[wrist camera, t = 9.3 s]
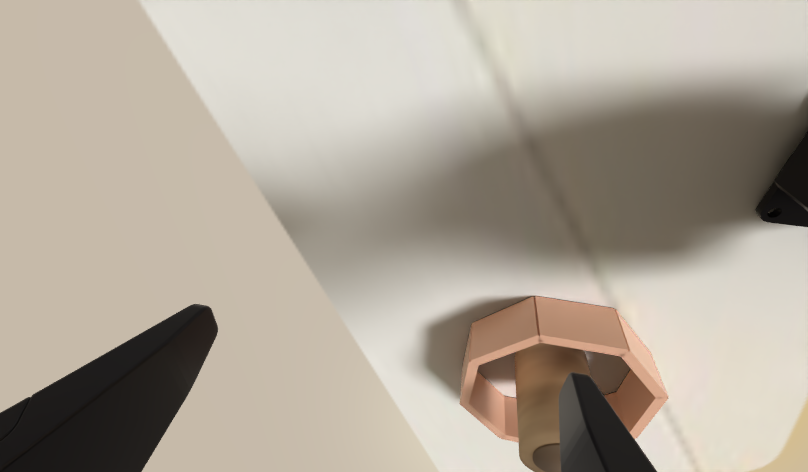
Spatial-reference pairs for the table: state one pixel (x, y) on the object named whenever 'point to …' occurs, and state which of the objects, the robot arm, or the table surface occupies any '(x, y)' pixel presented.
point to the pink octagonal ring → (566, 329)
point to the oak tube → (543, 401)
